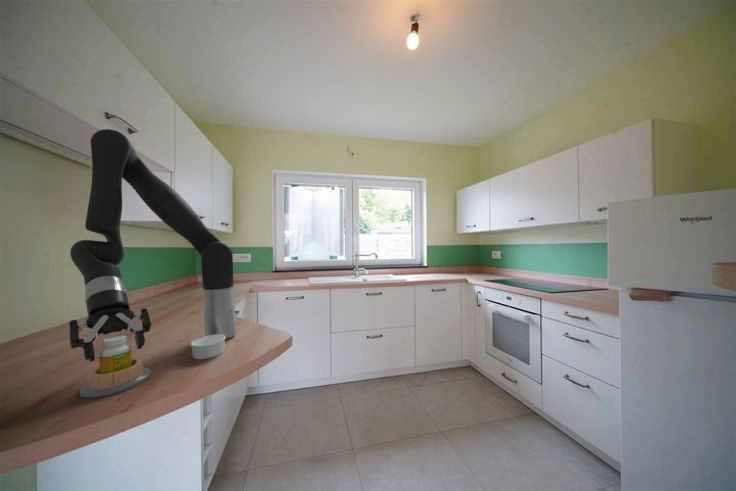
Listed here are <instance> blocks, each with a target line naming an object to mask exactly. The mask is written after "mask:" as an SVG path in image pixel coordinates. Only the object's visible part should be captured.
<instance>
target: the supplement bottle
mask: <svg viewBox="0 0 736 491" xmlns="http://www.w3.org/2000/svg"><path fill="white" fill-rule="evenodd" d="M127 342H128V337H127V335H126V334H125V335H124V334H123V335H122V334H120V335H114V336H110V337H106V338H104V339H103V340H102V346H103V347H104V348H103V349H101V350H100V351H99V355H98V356H99V358H98V359H99V366H100V374H107V373H113V372H117V371H120V370H123V369H126V368H129V367H131V366H132V359H131V358H132V346H131V344H129V343H127Z"/></svg>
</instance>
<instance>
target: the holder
mask: <svg viewBox="0 0 736 491" xmlns="http://www.w3.org/2000/svg"><path fill="white" fill-rule="evenodd" d="M131 359H132V366H131V367H129V368H126V369H123V370H120V371H117V372H113V373H107V374H100V365H99V366H97V367H95V368H93V369H92V370H91V371H89V372H88V381H87V382H86V383H84V384H83V385H82V386H81V387H80V388H79V397H81V398H82V397H83V398H82V399H100V398H104V397H109V396H113V395H116V394H120V393H123V392H126V391H128V390H131V389H133V388H135V387H137V386H139V385H141V384H143V383H144V382H146V381H147V380H148V379H150V377H151V368H149V367H146V366H144V360H143V359H142V358H141V357H131Z"/></svg>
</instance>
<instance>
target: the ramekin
mask: <svg viewBox="0 0 736 491" xmlns="http://www.w3.org/2000/svg"><path fill="white" fill-rule="evenodd" d="M225 338H226V337H225V336H224V335H209V336H205V335H204V336H200V337H198V338H196V339H193V340H192V341H191V342H190V344H189V345H190V347H191V353H192V357H193V359H195V360H207V359H208V360H209V359H212V358H215V357H217V356H220V355H221V354H223V353H224V351H225V342H226V341H225V340H226V339H225Z"/></svg>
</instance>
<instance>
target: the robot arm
mask: <svg viewBox="0 0 736 491" xmlns="http://www.w3.org/2000/svg"><path fill="white" fill-rule="evenodd" d="M90 151H91V152H90V153H91V162H92V163H91V167H92V168H91V169H92V171H91V184H90V186H91V187H90V193H89V199H88V206H87V211H86V216H85V217H86V218H85V224H84V226H85V230H87V231H89V232H91V233H95V234H99V235H102V236H103V237H104V238H105V239H106V241H103V240H101V241H100V240H93V239H91V240H89V239H82V240H78V241H76V242H74V244H73V245H72V246H71V248H70V258H71V260H72V263H73V264H74V265H75V267H76V268H77V269H78V271H79V272H80V274H81V275H82V277H83V279H84V287H85V288H84V289H85V291H84V297H85V299H84V302H85V305H86V311H87V318H86V319H85V320H80V321H78V320H76V319H72V320H70V321H69V323H68V324H69V325H68V330H69V333H68V334H69V343H70V344H69V346H70V349H77V348H82V349H83V357H84V358H83V359H85V360H86V361H89V362H94V361H95V357H96V356H95V355H96V354H95V348H94V342H95V341H96V340H98V338H99V337H100V336H101V335H109V334H111V333H119V332H122V331H124V332H126V333H129V334H132V335H134V340H135V345H136V348H137V350H140V349H142V348H143V346H144V345H145V342H146V339H145V338H146V337H145V334H146V333H149V332H150V331H151V327H152V322H151V318H150V315H149V311H148V309H147V308H146V307H145V308H144V307H143V308H141V310H138V311H133V310H131V307H130V302H129V299H128V294H127V290H126V287H125V284H124V282H123V279H122V278H123V277H122V274H121V270H120V268H119V266H117V265H119V264H120V263H121V262H122V261H123V260H124V256H125V251H124V246H123V243H122V242H123V241H122V236H121V231H120V230H121V229H120V226H121V220H122V215H123V214H122V213H123V190H122V187H123V186H122V185H123V180H124V181H125V182H126V183H128V184H129V186H131V188H132V189H133V190H134V191H135V192H136V194H137V195H138V196H139V198H140V199H141V200H142V201H143V202H144V203H145V205H146V206H147V207H148V208H149V209H150V210H151V211H152V212H153V213H154V214H155V215H156V216H157V217H158V218H159V219H160V220H161V221H162V222H163V223H164V224H165V225H167V227H169V228H170V229H171V230H173V231H174V232H176V233H177V234H178V235H180V236H181V237H183V238H184V239H185V240H186V241H187V242H189V243H190V245H192V247H193V248H194V249H195V250H196V251H197V252H198V254H199V255H200V263H201V280H202V289H203V290H202V291H203V292H202V293H203V320H204V337H205V336H209V335H224V336H225V337H226V338H225V340H227V339H230V338H235V336H236V331H237V327H236V326H237V322H236V321H237V320H236V306H235V298H234V297H235V292H234V290H235V288H234V260H233V259H234V258H233V251H232V249H231V248H230V246H229V245H228V244H227V243H224V242H223V241H222V240H221V239H219V238H218V237H217V236H216V235H215V234H214V233H213V232H212V231H211V230H210V229H209V228H208V227H207V226H206V225H205V224H204V222H203V221H202V219H201V218H200V217H199V215H198V214H197V213H196V211H195V210H194V209H193V208H192V207H191V205H190V204H189V203H188V202H187V201H186V200H185V199H184V198H183V196H181V194H179V193H178V192H177V190H176V189H174V188H173V187H171V186H170V185H169V184H167V183H166V182H165V181H163V179H161V178H159V177H158V176H157V175H156V174H155V173H154V172H152V170H151V169H150V168H149V167H148V166H147V165H146V163H145V162H144V161H143V159H141V157H140V156H139V155H138V153H137V151H136V149H135V147H134V145H133V144H132V142H131V141H130V139H129V138H128V137H127V136H126V135H125V134H123V133H122V132H120V131H118V130H114V129H110V128H107V129H106V128H105V129H100V130H98V131H96V132H95V133H93V135H92V136H91V138H90ZM134 318H136V319H137V320H139V321H140V322H141V325H142V326H141V325H139V324H138V323H136V321H135V320H133V319H134ZM84 327H87V328H88V329H90V331H89V333H88V334H87V335H86V336H85V337H84V338H80V332H81V331H82V330H83V329H84ZM144 333H145V334H144Z"/></svg>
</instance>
